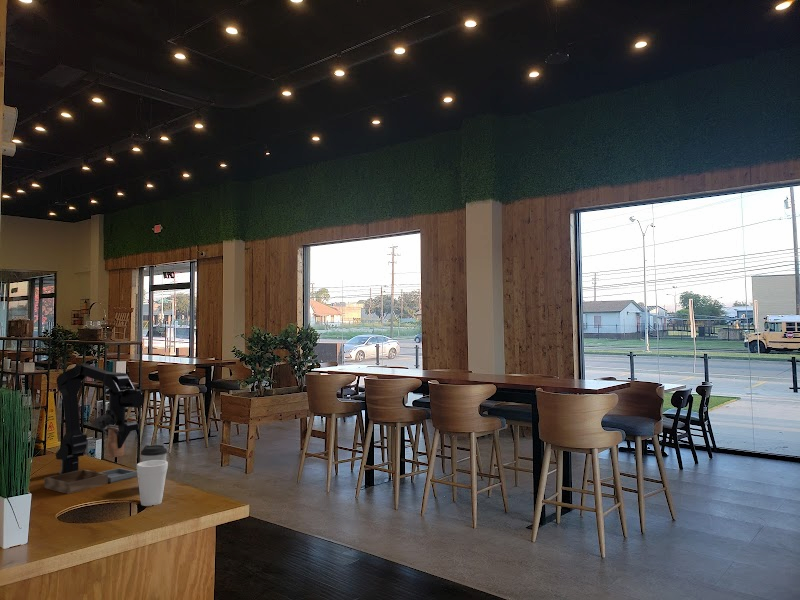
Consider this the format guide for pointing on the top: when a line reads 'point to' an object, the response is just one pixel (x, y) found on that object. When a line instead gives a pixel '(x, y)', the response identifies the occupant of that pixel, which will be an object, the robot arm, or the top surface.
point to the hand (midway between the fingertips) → (116, 447)
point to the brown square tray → (75, 481)
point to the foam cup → (151, 481)
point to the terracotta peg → (114, 444)
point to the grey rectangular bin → (119, 475)
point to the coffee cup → (153, 453)
